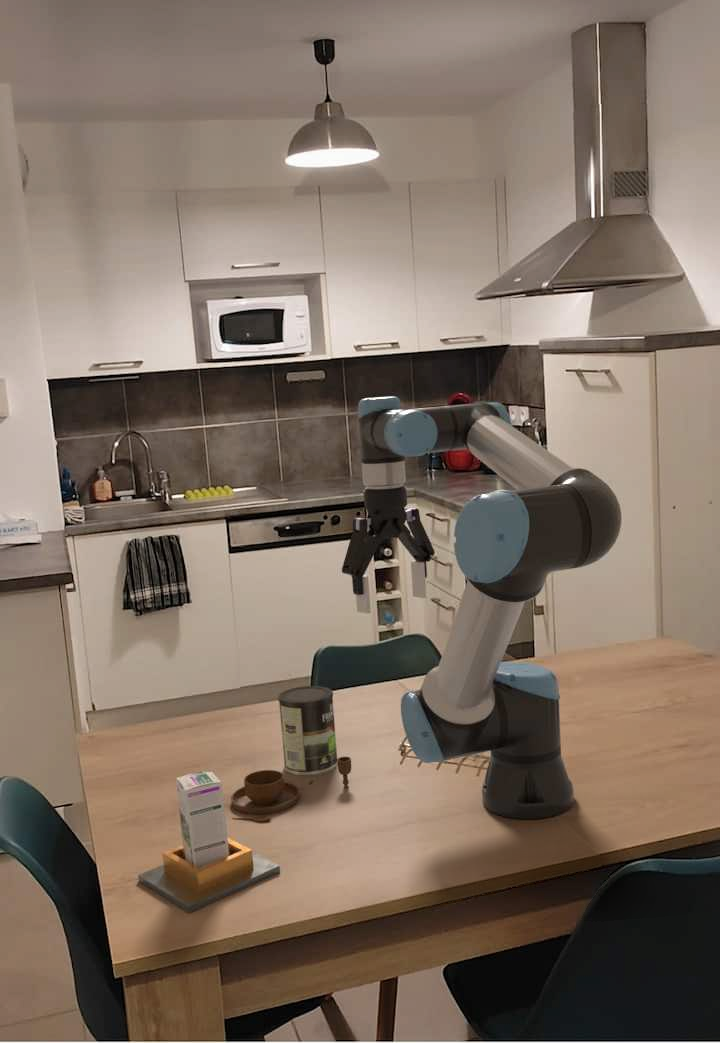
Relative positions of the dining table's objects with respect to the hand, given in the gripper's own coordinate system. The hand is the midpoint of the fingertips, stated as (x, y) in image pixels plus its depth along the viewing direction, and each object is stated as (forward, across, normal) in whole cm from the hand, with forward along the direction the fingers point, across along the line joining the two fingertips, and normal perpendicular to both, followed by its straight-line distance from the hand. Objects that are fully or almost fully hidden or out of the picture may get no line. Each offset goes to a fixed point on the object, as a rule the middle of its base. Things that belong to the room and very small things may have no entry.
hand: (392, 604), depth 189 cm
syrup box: (+31, +46, +6) cm, 56 cm away
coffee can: (+32, +8, -17) cm, 37 cm away
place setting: (+32, +21, -7) cm, 39 cm away
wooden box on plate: (+32, +46, +6) cm, 56 cm away
